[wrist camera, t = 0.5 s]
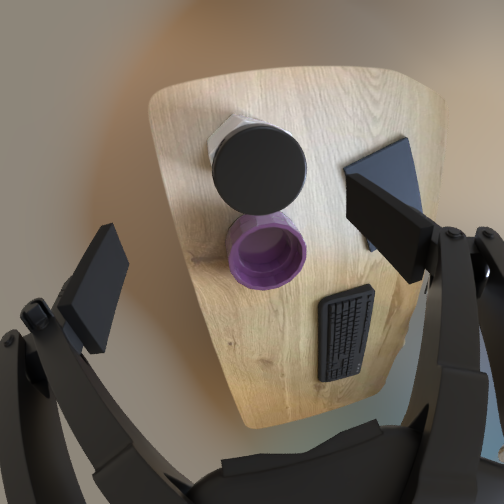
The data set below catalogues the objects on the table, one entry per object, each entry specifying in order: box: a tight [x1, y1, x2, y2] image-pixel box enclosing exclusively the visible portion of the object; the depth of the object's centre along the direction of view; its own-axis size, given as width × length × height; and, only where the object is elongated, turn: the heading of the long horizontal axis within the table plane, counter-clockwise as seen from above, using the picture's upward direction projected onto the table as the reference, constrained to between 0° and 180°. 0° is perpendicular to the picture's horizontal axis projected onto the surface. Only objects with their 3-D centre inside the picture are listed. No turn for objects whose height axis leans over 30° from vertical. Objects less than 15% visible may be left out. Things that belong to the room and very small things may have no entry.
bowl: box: [225, 211, 306, 290], centre depth 39 cm, size 10×10×5 cm
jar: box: [207, 114, 307, 216], centre depth 28 cm, size 9×8×12 cm
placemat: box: [343, 137, 423, 252], centre depth 40 cm, size 16×12×1 cm
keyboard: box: [318, 284, 375, 382], centre depth 56 cm, size 30×11×2 cm, turn 10°
